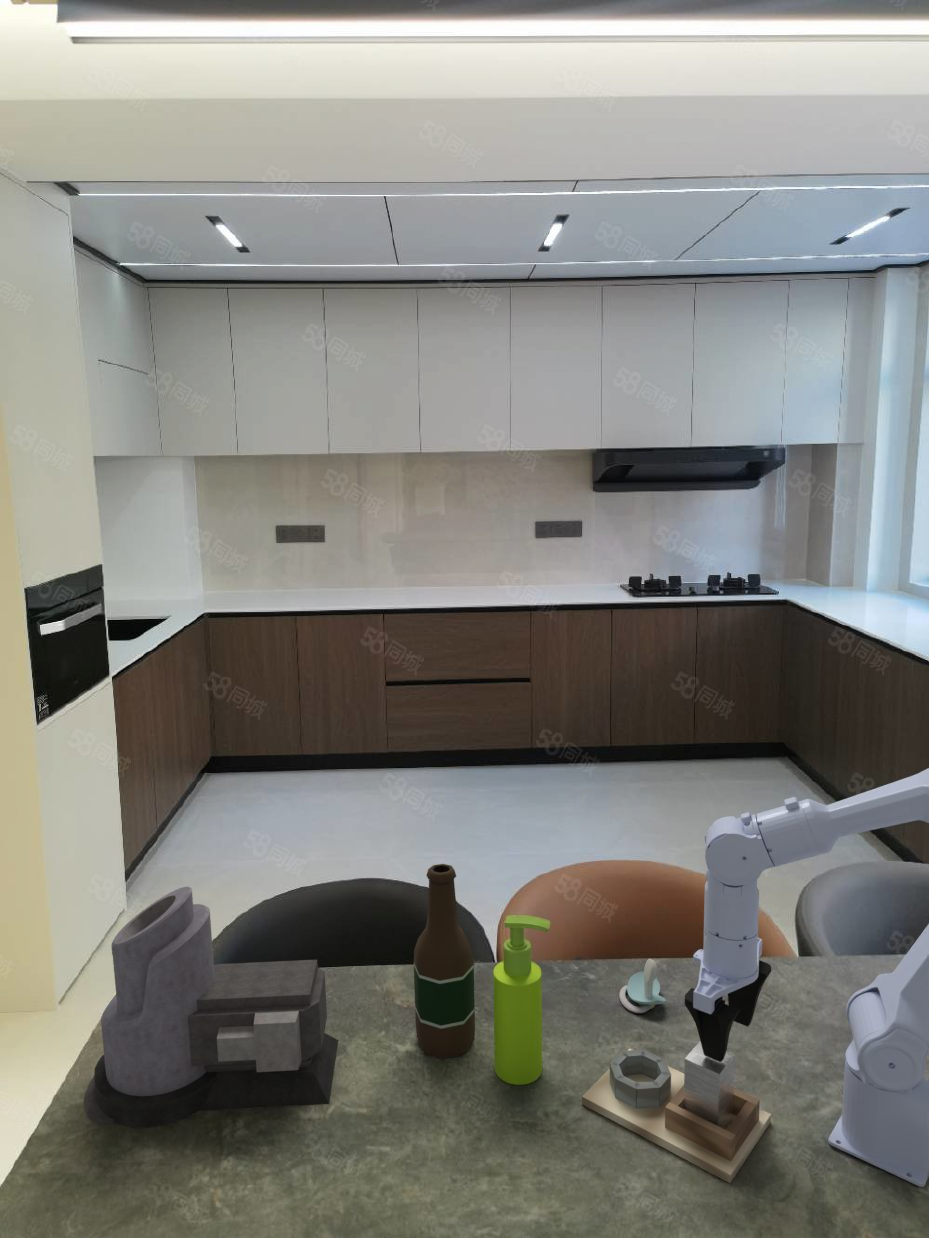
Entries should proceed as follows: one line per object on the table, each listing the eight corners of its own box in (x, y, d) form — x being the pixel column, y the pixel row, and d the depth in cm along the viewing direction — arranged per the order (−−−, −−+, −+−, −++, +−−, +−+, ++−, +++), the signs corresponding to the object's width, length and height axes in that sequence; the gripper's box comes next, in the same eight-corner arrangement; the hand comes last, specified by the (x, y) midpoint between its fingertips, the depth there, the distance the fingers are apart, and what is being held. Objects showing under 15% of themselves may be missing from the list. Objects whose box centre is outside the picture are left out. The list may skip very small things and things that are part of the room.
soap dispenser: (547, 1088, 102) (547, 934, 99) (491, 1081, 104) (488, 928, 100) (552, 1056, 108) (552, 909, 105) (498, 1050, 109) (496, 904, 106)
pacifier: (624, 1019, 116) (669, 1016, 116) (623, 976, 115) (668, 974, 115) (615, 987, 123) (656, 985, 123) (614, 947, 122) (656, 945, 122)
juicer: (62, 1133, 97) (41, 933, 93) (112, 1041, 113) (96, 867, 109) (327, 1118, 98) (318, 921, 94) (340, 1030, 114) (332, 858, 110)
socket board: (770, 1121, 96) (771, 1094, 96) (730, 1183, 88) (731, 1153, 87) (629, 1055, 108) (629, 1030, 107) (582, 1104, 100) (582, 1077, 99)
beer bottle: (477, 1023, 115) (474, 855, 111) (472, 1062, 107) (469, 883, 103) (420, 1021, 116) (415, 854, 112) (411, 1059, 108) (405, 881, 104)
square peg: (732, 1119, 95) (734, 1054, 94) (717, 1140, 92) (719, 1074, 91) (699, 1103, 98) (700, 1040, 97) (683, 1123, 95) (684, 1058, 94)
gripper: (722, 891, 102) (719, 995, 104) (667, 943, 91) (665, 1058, 93) (781, 909, 98) (777, 1017, 100) (731, 965, 87) (728, 1085, 89)
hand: (727, 1038), depth 96 cm, fingers open, 7 cm apart
